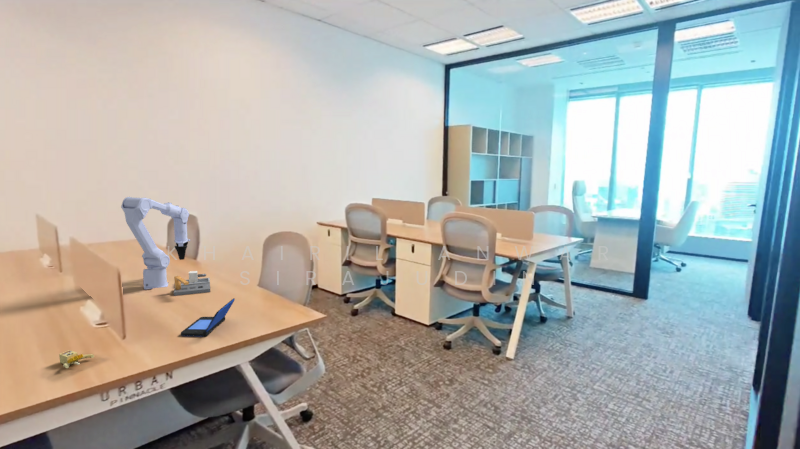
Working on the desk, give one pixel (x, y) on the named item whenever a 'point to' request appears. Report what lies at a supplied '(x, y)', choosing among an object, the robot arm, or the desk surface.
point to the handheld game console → (207, 323)
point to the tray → (199, 282)
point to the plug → (194, 276)
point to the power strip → (192, 289)
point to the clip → (179, 282)
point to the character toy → (72, 358)
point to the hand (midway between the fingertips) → (182, 257)
